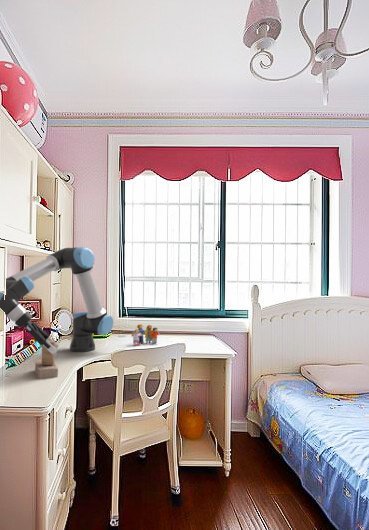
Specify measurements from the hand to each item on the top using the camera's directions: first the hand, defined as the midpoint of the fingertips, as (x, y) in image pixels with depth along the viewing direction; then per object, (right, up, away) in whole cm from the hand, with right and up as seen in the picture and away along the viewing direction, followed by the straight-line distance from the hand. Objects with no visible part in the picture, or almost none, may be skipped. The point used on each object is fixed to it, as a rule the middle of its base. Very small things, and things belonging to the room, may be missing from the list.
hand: (56, 350), depth 175 cm
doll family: (+33, -13, +75) cm, 83 cm away
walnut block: (-3, -6, -1) cm, 7 cm away
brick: (-4, -11, -2) cm, 12 cm away
